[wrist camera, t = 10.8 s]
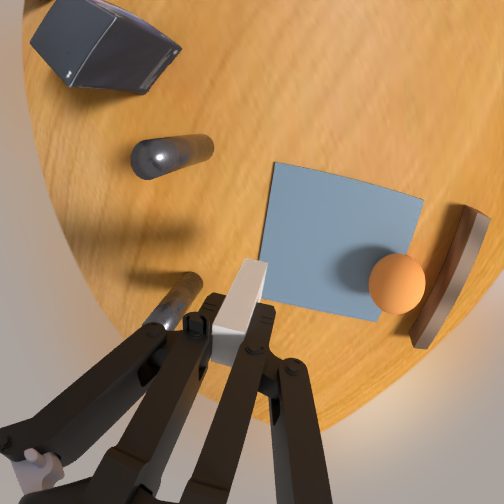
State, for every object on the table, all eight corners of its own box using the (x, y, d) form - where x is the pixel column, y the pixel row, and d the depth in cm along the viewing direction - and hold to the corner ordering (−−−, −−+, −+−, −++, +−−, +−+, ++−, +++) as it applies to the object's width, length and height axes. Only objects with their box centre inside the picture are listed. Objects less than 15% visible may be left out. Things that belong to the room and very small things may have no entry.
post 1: (189, 133, 23) (131, 139, 15) (215, 135, 23) (165, 140, 15) (186, 159, 24) (130, 177, 16) (212, 163, 24) (163, 182, 16)
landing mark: (275, 161, 23) (275, 162, 22) (423, 199, 21) (424, 200, 21) (253, 295, 29) (253, 296, 29) (376, 320, 27) (376, 322, 27)
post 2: (182, 269, 30) (140, 318, 22) (203, 274, 29) (166, 327, 21) (182, 288, 31) (143, 338, 23) (202, 294, 30) (168, 347, 22)
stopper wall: (465, 204, 20) (477, 212, 17) (478, 210, 19) (490, 218, 17) (408, 333, 27) (413, 347, 25) (421, 335, 27) (426, 349, 24)
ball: (435, 260, 21) (386, 239, 24) (433, 278, 17) (373, 251, 20) (414, 308, 24) (369, 287, 26) (405, 334, 19) (352, 308, 22)
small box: (187, 46, 19) (119, 14, 10) (146, 96, 22) (68, 93, 13) (129, 9, 17) (63, -15, 8) (96, 53, 20) (26, 45, 11)
